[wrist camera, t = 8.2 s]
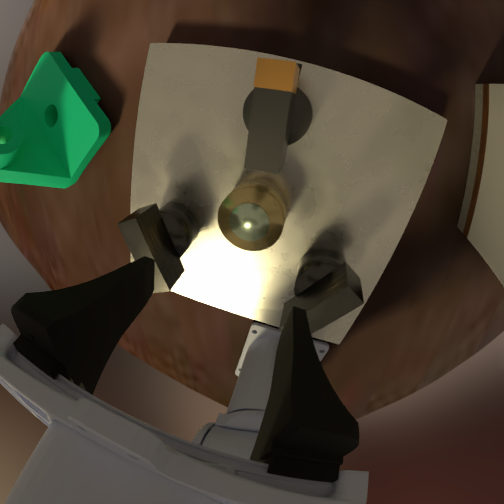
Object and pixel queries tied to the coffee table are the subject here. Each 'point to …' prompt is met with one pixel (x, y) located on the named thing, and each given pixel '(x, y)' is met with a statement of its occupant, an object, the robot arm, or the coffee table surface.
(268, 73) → the tan-ended square prism
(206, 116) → the base
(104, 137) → the camera mount
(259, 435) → the robot arm
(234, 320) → the coffee table surface
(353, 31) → the coffee table surface
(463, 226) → the white dispenser tower
